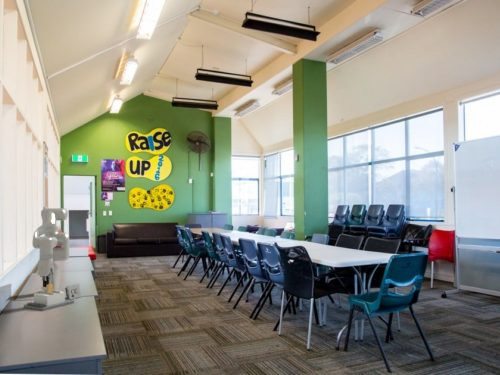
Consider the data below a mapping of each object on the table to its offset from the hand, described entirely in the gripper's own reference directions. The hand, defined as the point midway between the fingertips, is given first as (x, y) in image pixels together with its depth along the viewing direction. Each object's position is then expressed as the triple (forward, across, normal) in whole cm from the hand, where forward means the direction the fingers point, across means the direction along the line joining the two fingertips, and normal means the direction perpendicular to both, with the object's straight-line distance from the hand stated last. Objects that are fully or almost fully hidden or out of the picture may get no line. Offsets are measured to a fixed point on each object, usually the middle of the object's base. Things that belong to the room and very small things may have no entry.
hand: (45, 286), depth 254 cm
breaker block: (+11, +4, 0) cm, 12 cm away
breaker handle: (+4, +4, 0) cm, 5 cm away
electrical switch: (+11, +1, +19) cm, 22 cm away
